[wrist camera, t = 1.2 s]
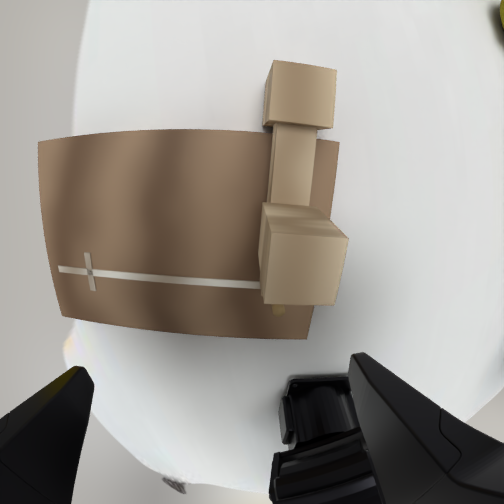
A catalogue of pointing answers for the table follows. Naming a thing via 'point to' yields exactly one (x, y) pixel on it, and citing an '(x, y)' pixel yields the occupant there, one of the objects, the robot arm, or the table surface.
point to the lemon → (502, 12)
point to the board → (167, 229)
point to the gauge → (297, 192)
